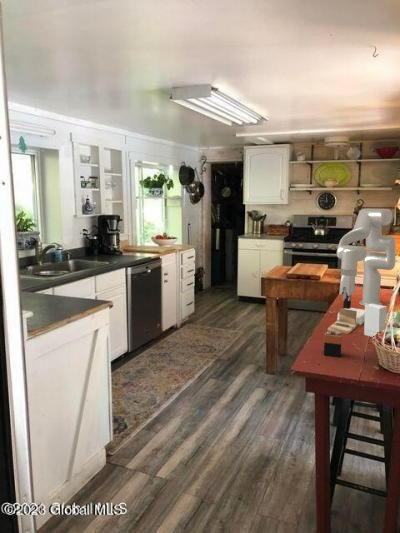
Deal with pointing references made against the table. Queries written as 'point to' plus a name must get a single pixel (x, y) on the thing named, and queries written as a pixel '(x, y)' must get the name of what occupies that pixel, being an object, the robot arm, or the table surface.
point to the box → (359, 317)
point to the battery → (332, 344)
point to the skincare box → (374, 319)
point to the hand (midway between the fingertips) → (346, 308)
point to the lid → (345, 322)
